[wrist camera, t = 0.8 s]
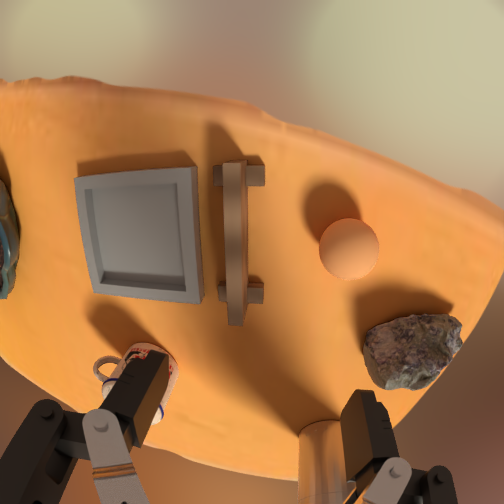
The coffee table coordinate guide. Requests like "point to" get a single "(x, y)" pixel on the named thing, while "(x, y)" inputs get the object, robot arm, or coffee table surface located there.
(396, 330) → the mineral rock
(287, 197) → the coffee table surface
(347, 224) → the ball
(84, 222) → the tray
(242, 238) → the fence
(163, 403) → the teacup with lid
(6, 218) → the bonsai tree
